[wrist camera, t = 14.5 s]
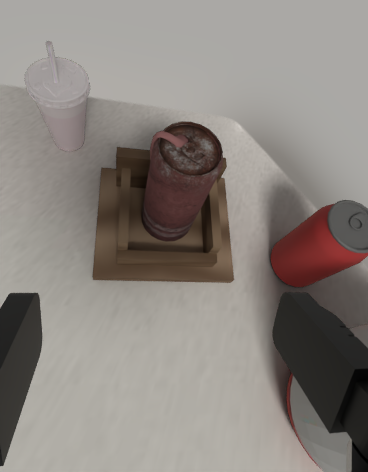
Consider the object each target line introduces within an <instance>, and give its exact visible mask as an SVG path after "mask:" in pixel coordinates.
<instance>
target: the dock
mask: <svg viewBox="0 0 368 472" xmlns="http://www.w3.org/2000/svg"><path fill="white" fill-rule="evenodd" d="M150 161H151V160H150V150H140V149H130V148H120V147H117V155H116V169H111V168H102V169H101V182H100V194H99V206H98V218H97V231H96V243H95V255H94V268H93V280H125V281H175V282H225V283H231V282H232V281H233V280H234V276H233V265H232V255H231V244H230V233H229V222H228V212H227V201H226V190H225V180H224V178H221V176H222V174H223V172H224V171H225V169H226V167H227V166H226V158H223V166H222V169H221V171H220V173H219V175H218V177H217V179H216V181H215V182H214V184H213V186H212V188H211V190H210V192H209V194H208V196H207V198H206V199H205V201H204V203H203V205H202V207H201V209H200V211H199V213H198V215H197V217H196V218H195V220H194V222H193V224H192V226H191V228H190V230H189V231H188V233H187V234H186V235H185V236H184V237H182V238H181V239H178V240H176V241H168V242H166V241H161V240H158V239H156V238H154V237H152V236H151V235H150V234H149V233H148V232H147V231H146V230H145V228H144V226H143V224H142V217H141V214H142V208H143V202H144V196H145V190H146V184H147V179H148V173H149V167H150Z"/></svg>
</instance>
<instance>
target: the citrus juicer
mask: <svg viewBox="0 0 368 472" xmlns="http://www.w3.org/2000/svg"><path fill="white" fill-rule="evenodd" d="M349 330H350V331H351V332H352V333H353V334H354V336H355V337H357V338H358V339H359V340H360V341H361V342H362V343H363V344H364V345H365V346H366V347H367V348H368V324H366V325H362V326H357V327H353V328H349ZM287 408H288V414H289V417H290V421H291V424H292V427H293V429H294V431H295V433H296V435H297V437H298V440H299V441H300V443H301V445H302V446H303V448H304V449H305V451H306V452H307V454H308V455H309V457H310V458H311V459H312V460H313V461H314V462H315V463H316V464H317V465H318V466H319V467H320V468H321V469H322V470H323V471H324V472H346V455H347V444H348V441H349V439H350V436H349V435H348V433H347V432H340V433H331V434H329V432H328V430H327V429H326V427H325V425H324V424H323V422H322V421H321V419H320V417H319V416H318V414H317V413H316V411H315V409H314V408H313V406H312V405H311V403H310V401H309V400H308V398H307V397H306V395H305V393H304V392H303V390H302V388H301V387H300V385H299V384H298V382H297V380H296V379H295V377H294V376H293V374H292V373H291V375H290V378H289V382H288V386H287Z"/></svg>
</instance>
